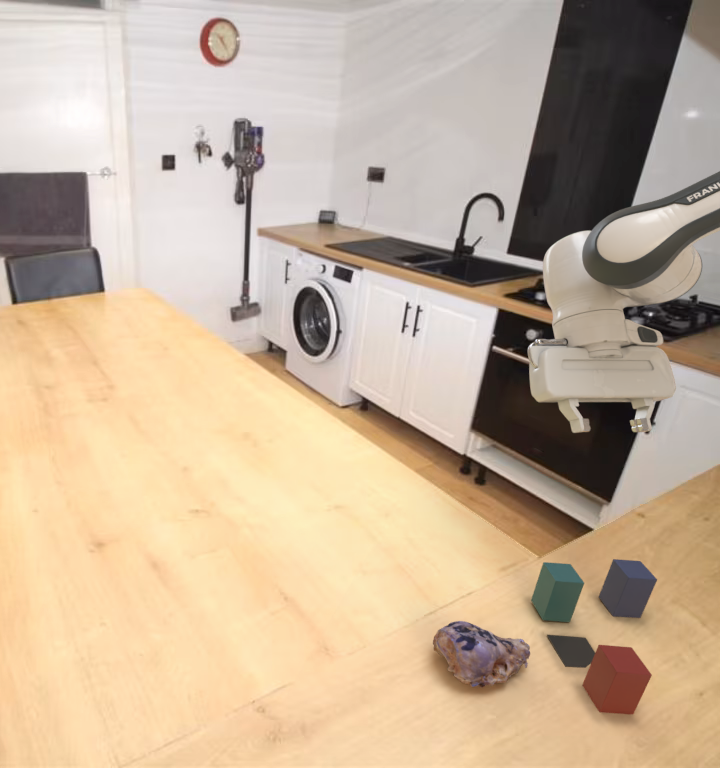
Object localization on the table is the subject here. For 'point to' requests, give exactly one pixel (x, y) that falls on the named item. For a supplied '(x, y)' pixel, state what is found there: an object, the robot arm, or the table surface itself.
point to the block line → (608, 664)
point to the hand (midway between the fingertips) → (612, 432)
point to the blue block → (627, 588)
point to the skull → (479, 653)
